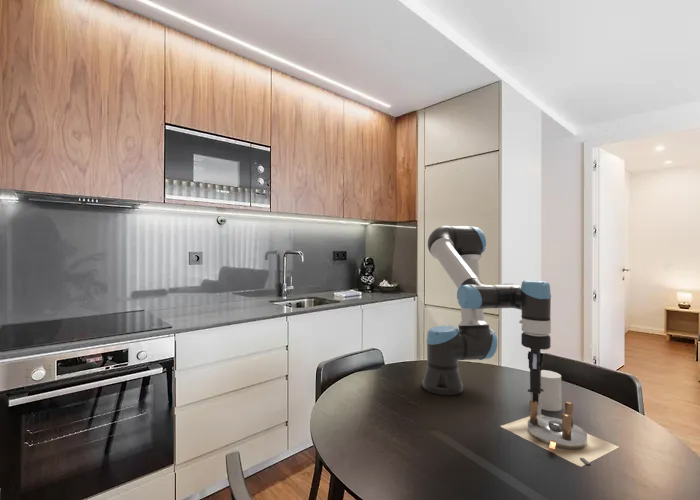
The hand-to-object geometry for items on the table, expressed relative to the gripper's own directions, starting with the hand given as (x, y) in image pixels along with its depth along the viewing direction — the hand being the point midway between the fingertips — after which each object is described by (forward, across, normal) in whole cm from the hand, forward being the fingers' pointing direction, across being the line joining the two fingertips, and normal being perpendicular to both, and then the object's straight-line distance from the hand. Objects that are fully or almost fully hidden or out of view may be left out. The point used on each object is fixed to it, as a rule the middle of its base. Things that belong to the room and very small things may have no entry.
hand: (535, 414), depth 100 cm
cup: (+5, -18, +3) cm, 18 cm away
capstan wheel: (+3, +6, +5) cm, 8 cm away
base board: (+5, +4, +5) cm, 8 cm away
